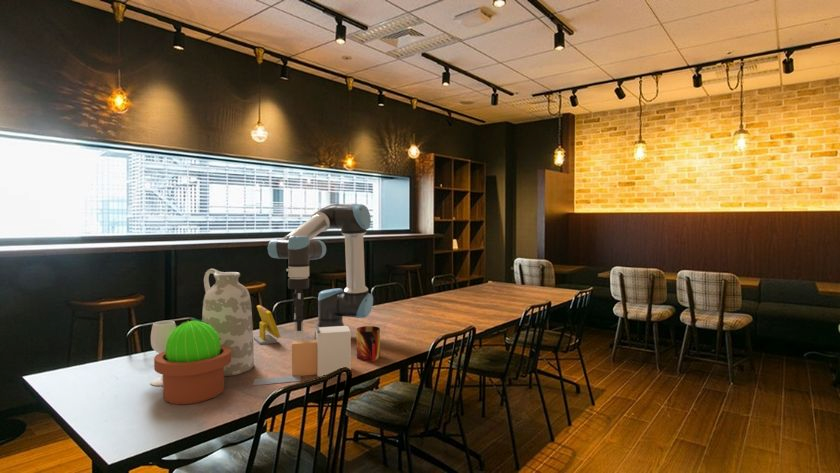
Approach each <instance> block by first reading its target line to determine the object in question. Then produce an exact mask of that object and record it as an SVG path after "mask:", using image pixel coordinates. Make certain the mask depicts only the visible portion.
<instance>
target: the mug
mask: <svg viewBox="0 0 840 473" xmlns="http://www.w3.org/2000/svg"><path fill="white" fill-rule="evenodd" d="M380 353H381V328H380V327H379V326H376V325H375V326H374V325H373V326H372V325H365V326H364V325H362V326H359V327H357V328H356V360H357V359H358V360H359V361H365V362H367V361H370V362H371V360H372V362H376V360H378V358H379V357H381V354H380ZM379 359H380V358H379Z"/></svg>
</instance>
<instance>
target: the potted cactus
mask: <svg viewBox="0 0 840 473" xmlns="http://www.w3.org/2000/svg"><path fill="white" fill-rule="evenodd" d="M189 320H190V321H189ZM220 340H221V338H220V337H219V336H218V333H217V331H216V330H215V329H214V328H213V327H212V326H210V325H209V324H208V323H206V322H202V319H197V318H191V319H188V320H187V321H184V322H181V324H179V325H177V326H176V328H175V329H174V330H172V333H171V334H170V336H169V338H168V341H166V343H167V344H166V351H164V352H162V353H157V354H156V355H155V356H154V357H153V359H154V360H153V361H154V362H153V364H154V366H153V367H154V368H153V369H154V371H155V372H156V373H158V374H159V375H163V386H162V390H163V391H162V392H163V400H164V401H166V402H167V403H169V404H174V405H191V404H198V403H201V402H205V401H206V402H207V401H208V400H211V399H215V397H218V396H219V395H221V394H222V393H223V391H224V388H225V380H224V379H225V376H224V366H226V365H228V364H229V363H230V362H231V349H230V348H229V347H227V346H223V345H220V343H221V342H220ZM164 346H165V345H164ZM164 349H165V348H164Z"/></svg>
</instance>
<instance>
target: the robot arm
mask: <svg viewBox="0 0 840 473" xmlns="http://www.w3.org/2000/svg"><path fill="white" fill-rule="evenodd" d="M371 224H372V222H371V213H370V211H369V209H368V207H367V206H366V205H365V204H362V203H361V204H359V203H333V204H329V205H326V206H325V207H323V208H321V209H318V210H317V211H315V212H314V213H312V215H311V217H310V218H309V219H307V221H305V222H304V223H302V224H301V225H300V226H298V227H296V228H295V229H294V230H292V231H291V232H290V233H288V234H287V235H285V236H284V237H282V238H277V239H271V240H269V242H268V245H267V253H268V255H269V256H270V258H273V259H278V260H280V259H283V260H284V259H285V260H287V259H288V260H287V261H288V263H287V266H288V267H287V268H286V270H285V271H286V272H288V274H287V277H288V279H287V287H288V289H289V290H293V291H294V292H293V293H292V299H293V306H294V308H293V310H294V311H293V312H294V313H293V317H294V318H293V324H294V325H293V328H294V329H293V331H294V341H301V340H302V341H304V305H305V300H304V299H305V293H304V292H303V290H306V289H309V288H310V278H309V277H310V261H311V260H312V261H313V260H319V259H322V258H323V257H324V256H326V253H327V246H326V244H325V242H323V241H322V240H319V239H314V238H316V237H317V236H318V235H319V234H321V233H324V232H326V231H328V230H331V229H332V230H333V229H338V230H339V229H340V230H341V235H343V236H344V245H345V246H344V247H345V248H344V250H345V251H344V252H345V271H346V272H345V273H346V274H345V275H346V287H345V288H344V289H343V288H340V287H339V288H338V287H337V288H331V289H330V288H329V289H324V290H321V291H320V292H318V297H317V304H318V305H317V308H318V310H317V313H318V315H317V316H318V318H317V320H318V321H317V325H316V326H318V327H334V326H345V323H344V321H343V318H344V317H346V318H357V319H359V318H360V319H361V318H362V319H363V318H364V319H365V318H367V317H368V316H369V315H370V314H371V312H372V309H373V306H374V296H373V294H372V293H369V288H368V287H367V286H366V281H365V280H366V278H365V276H366V275H365V248H364V236H365V235H366V234H367V230H368V229H370V228H371ZM314 339H316V329H315V330H314Z"/></svg>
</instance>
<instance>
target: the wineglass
mask: <svg viewBox="0 0 840 473" xmlns="http://www.w3.org/2000/svg"><path fill="white" fill-rule="evenodd" d="M175 328H177V324H176V322H175V321H174V320H159V321H156V322H153V323H152V325H151V332H150V346H151V348H152V350H154V351H155V352H156V353H157V354H159V353H162V352H164V351H166V344H167V343H166V341H168V338H169V336H170V334H171V333H172V330H174V329H175ZM164 345H165V346H164ZM164 348H165V349H164ZM161 375H162V376H160V377H157V378H155V379H153V380H151V382H150V385H151V386H156V387H163V374H161Z"/></svg>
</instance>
